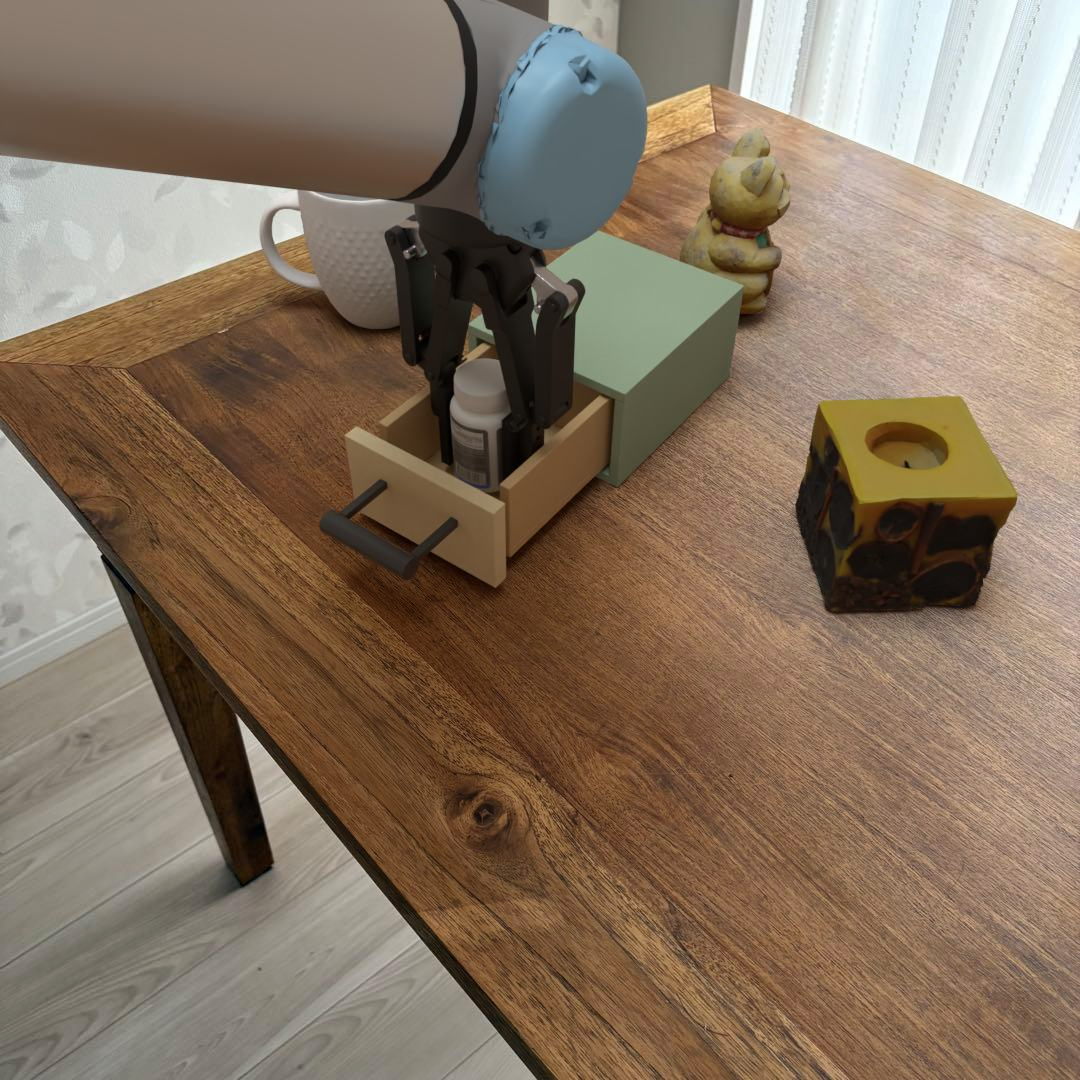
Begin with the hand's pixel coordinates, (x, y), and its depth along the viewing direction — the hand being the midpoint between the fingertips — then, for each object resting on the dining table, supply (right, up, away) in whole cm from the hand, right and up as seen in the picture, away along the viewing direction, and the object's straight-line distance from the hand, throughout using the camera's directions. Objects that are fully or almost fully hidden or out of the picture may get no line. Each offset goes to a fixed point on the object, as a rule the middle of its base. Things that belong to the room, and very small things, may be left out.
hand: (488, 468), depth 78 cm
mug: (-11, +15, +19) cm, 27 cm away
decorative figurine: (+20, +16, +20) cm, 32 cm away
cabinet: (+9, +6, +10) cm, 15 cm away
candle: (+27, -6, -1) cm, 28 cm away
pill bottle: (0, 0, 0) cm, 1 cm away
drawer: (-1, -3, 0) cm, 3 cm away
